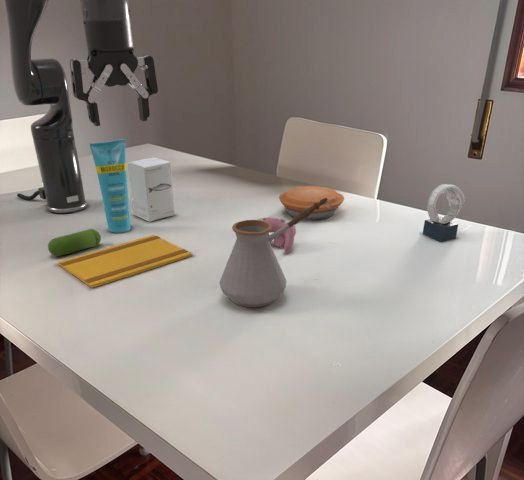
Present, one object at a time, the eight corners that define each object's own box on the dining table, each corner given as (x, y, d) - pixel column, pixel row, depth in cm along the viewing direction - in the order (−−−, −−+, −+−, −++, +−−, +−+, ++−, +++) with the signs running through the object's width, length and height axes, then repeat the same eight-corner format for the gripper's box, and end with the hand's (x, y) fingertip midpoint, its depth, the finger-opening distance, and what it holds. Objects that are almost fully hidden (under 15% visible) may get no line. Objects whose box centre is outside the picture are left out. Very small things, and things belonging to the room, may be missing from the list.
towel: (57, 264, 111) (57, 261, 110) (153, 237, 123) (153, 234, 123) (92, 288, 102) (91, 284, 101) (191, 256, 114) (191, 252, 113)
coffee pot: (240, 319, 91) (237, 230, 83) (208, 292, 100) (203, 209, 92) (344, 288, 101) (351, 205, 93) (307, 266, 109) (310, 189, 101)
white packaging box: (149, 222, 131) (143, 167, 124) (133, 215, 136) (126, 161, 129) (176, 215, 135) (171, 161, 128) (159, 208, 140) (153, 156, 133)
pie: (321, 227, 127) (322, 206, 124) (266, 214, 135) (266, 194, 132) (355, 209, 137) (356, 189, 135) (302, 198, 145) (302, 179, 143)
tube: (108, 235, 124) (93, 145, 114) (100, 229, 127) (85, 141, 117) (139, 229, 127) (128, 140, 117) (131, 223, 131) (119, 136, 121)
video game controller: (294, 255, 117) (299, 221, 117) (289, 253, 113) (294, 218, 112) (250, 249, 120) (254, 216, 119) (243, 247, 116) (247, 213, 115)
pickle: (47, 255, 115) (43, 238, 113) (97, 241, 121) (94, 225, 119) (54, 260, 113) (50, 243, 111) (105, 246, 119) (102, 229, 117)
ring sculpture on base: (462, 236, 121) (472, 185, 116) (434, 243, 118) (442, 191, 112) (444, 228, 126) (452, 179, 120) (416, 235, 122) (423, 184, 117)
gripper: (141, 15, 97) (151, 115, 106) (56, 17, 91) (75, 123, 100) (156, 17, 92) (165, 122, 100) (67, 19, 86) (85, 131, 94)
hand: (120, 122), depth 100 cm, fingers open, 8 cm apart
